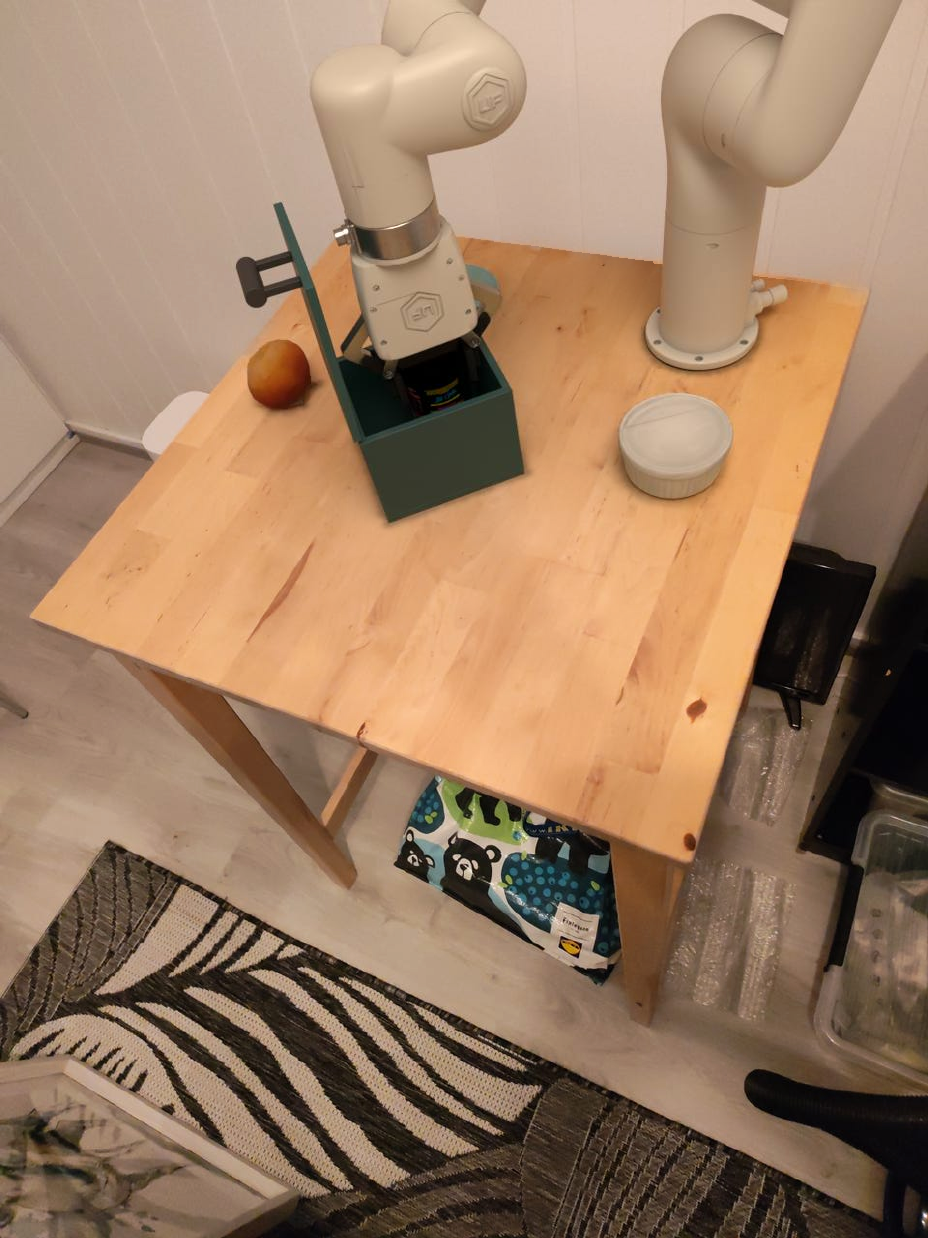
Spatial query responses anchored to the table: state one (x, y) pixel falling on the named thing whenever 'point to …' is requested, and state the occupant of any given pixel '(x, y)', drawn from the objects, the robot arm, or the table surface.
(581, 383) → the table surface
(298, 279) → the lid
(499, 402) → the box
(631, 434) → the ramekin
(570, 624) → the table surface
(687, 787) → the table surface
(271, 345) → the fruit
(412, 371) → the supplement container
